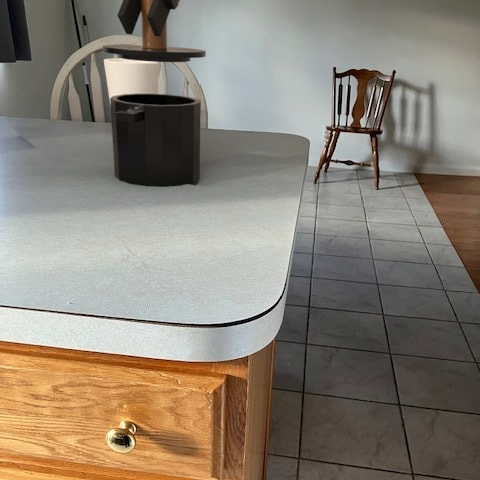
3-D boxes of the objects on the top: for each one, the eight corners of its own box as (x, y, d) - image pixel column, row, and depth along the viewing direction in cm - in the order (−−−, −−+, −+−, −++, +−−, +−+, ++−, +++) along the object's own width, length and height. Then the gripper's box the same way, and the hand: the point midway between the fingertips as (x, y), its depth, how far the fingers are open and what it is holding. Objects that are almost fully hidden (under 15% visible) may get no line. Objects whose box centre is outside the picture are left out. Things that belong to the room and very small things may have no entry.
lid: (82, 57, 64) (73, -58, 58) (134, 53, 74) (130, -44, 69) (180, 65, 61) (180, -55, 55) (219, 60, 71) (222, -42, 66)
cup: (168, 137, 103) (167, 63, 97) (118, 140, 98) (114, 62, 92) (148, 127, 110) (146, 58, 104) (101, 130, 105) (96, 57, 99)
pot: (88, 188, 70) (81, 102, 65) (148, 162, 85) (145, 89, 79) (170, 200, 67) (169, 111, 62) (217, 171, 82) (220, 96, 77)
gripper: (261, -92, 70) (211, 55, 64) (148, -92, 74) (92, 46, 68) (251, -157, 63) (194, 1, 57) (127, -154, 67) (63, -6, 61)
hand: (139, 25), depth 63 cm, fingers closed on lid, 3 cm apart
